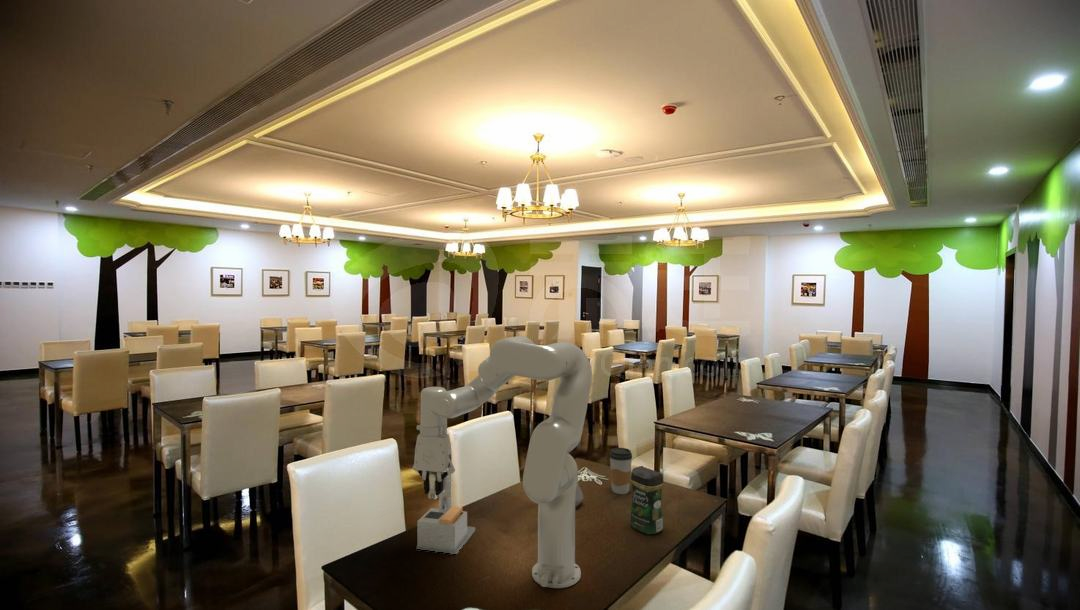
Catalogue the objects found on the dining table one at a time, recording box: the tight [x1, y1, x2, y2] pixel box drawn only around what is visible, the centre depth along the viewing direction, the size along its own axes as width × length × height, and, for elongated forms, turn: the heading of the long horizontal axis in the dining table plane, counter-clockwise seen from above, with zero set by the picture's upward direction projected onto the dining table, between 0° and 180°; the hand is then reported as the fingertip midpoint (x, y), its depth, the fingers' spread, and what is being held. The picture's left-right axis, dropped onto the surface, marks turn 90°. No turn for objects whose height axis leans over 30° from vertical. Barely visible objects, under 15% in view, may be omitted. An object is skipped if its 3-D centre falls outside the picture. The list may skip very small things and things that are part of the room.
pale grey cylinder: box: [428, 471, 439, 500], centre depth 148 cm, size 3×3×8 cm
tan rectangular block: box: [440, 505, 464, 525], centre depth 147 cm, size 9×3×8 cm, turn 167°
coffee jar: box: [630, 465, 664, 535], centre depth 157 cm, size 10×8×19 cm
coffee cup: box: [608, 447, 633, 495], centre depth 187 cm, size 8×8×15 cm
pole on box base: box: [416, 469, 476, 555], centre depth 150 cm, size 15×12×20 cm
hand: (433, 492), depth 148 cm, fingers closed on pale grey cylinder, 2 cm apart
